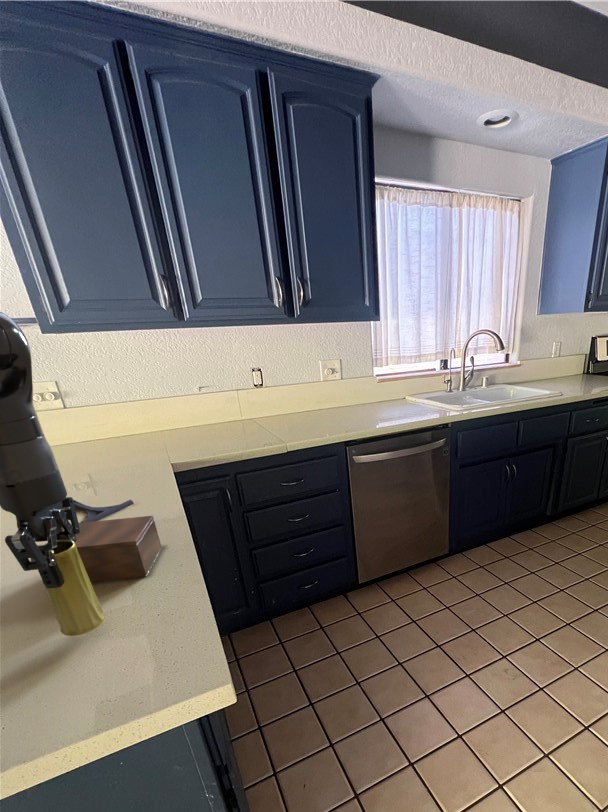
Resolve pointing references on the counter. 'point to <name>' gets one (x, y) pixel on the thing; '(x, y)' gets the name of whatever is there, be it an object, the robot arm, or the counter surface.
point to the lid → (111, 533)
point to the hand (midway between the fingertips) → (64, 575)
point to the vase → (74, 593)
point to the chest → (123, 559)
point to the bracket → (100, 510)
